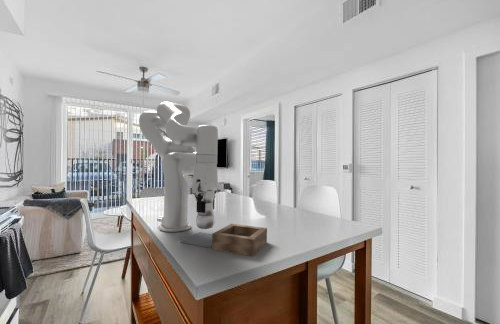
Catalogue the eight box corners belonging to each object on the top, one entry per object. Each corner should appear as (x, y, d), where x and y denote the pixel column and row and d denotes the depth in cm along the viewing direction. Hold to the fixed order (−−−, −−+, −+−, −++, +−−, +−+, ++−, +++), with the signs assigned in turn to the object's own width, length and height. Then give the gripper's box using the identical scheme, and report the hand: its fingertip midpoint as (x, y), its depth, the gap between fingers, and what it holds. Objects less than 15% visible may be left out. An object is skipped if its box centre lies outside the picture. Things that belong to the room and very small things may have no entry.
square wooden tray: (212, 249, 77) (212, 233, 77) (230, 237, 90) (231, 223, 90) (253, 256, 72) (253, 239, 72) (266, 242, 85) (267, 228, 85)
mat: (180, 242, 83) (180, 241, 83) (199, 233, 94) (199, 232, 94) (210, 247, 78) (210, 246, 78) (227, 237, 90) (227, 236, 90)
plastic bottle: (198, 231, 82) (199, 172, 82) (194, 226, 88) (195, 171, 88) (216, 230, 84) (217, 172, 84) (211, 225, 90) (212, 171, 90)
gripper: (209, 160, 96) (208, 206, 95) (183, 159, 80) (182, 214, 79) (226, 160, 93) (225, 207, 93) (202, 159, 77) (201, 216, 77)
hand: (205, 210), depth 86 cm, fingers closed on plastic bottle, 5 cm apart
